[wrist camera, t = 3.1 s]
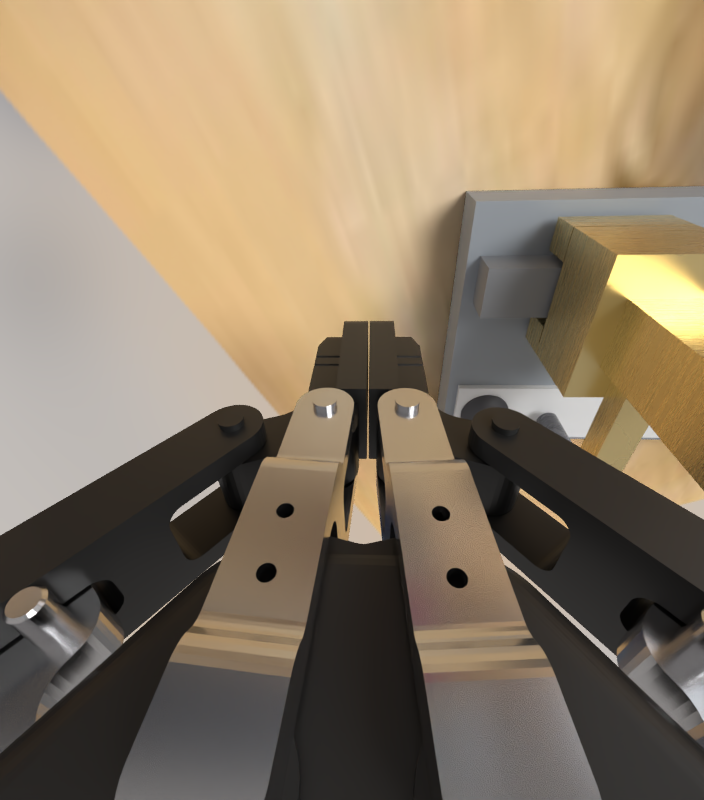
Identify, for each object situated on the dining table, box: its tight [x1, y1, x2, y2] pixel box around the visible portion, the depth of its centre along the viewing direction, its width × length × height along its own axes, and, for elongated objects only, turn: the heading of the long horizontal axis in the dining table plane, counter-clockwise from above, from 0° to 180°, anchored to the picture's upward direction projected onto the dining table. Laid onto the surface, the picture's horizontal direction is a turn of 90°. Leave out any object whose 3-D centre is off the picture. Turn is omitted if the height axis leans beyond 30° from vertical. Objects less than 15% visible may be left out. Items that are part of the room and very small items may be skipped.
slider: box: [525, 215, 704, 490], centre depth 13 cm, size 10×4×11 cm, turn 2°
